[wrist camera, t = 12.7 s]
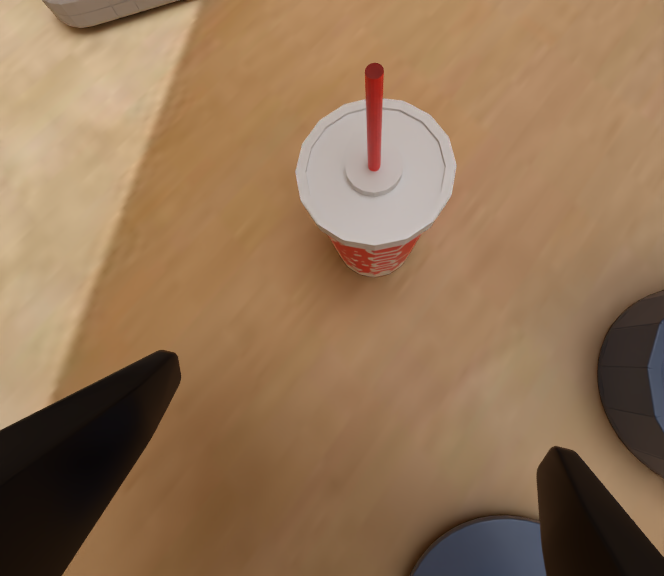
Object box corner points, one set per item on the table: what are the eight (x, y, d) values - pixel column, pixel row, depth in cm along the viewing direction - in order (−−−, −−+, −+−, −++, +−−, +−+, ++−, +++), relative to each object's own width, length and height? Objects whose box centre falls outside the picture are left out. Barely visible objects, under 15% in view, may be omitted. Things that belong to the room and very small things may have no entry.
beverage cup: (323, 289, 23) (250, 187, 9) (325, 195, 24) (262, -19, 11) (426, 289, 22) (508, 178, 9) (423, 192, 24) (492, -41, 10)
